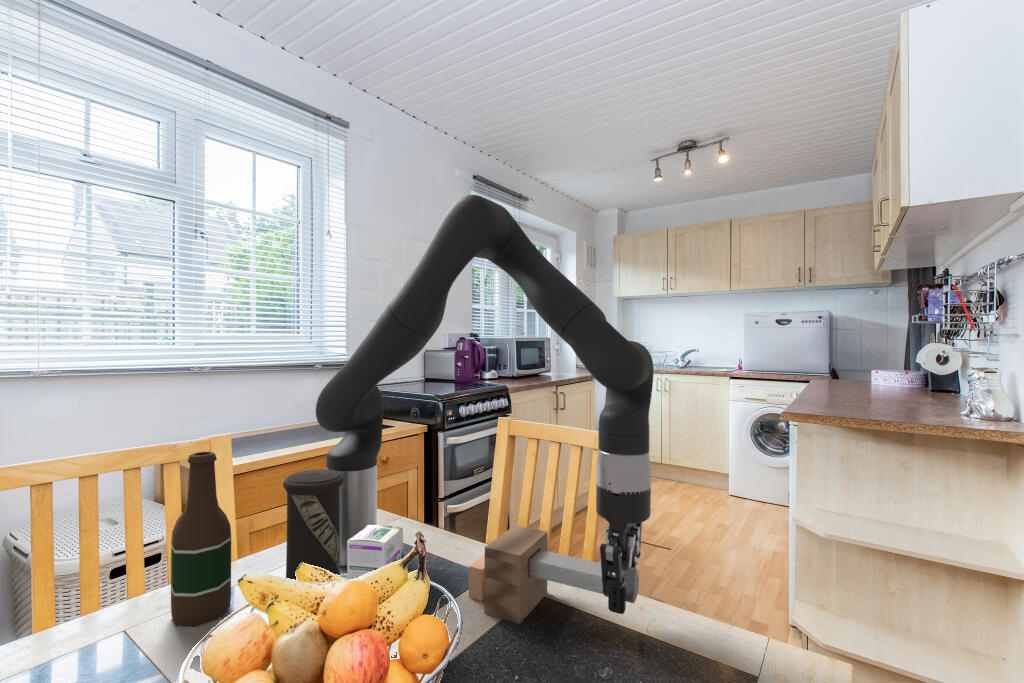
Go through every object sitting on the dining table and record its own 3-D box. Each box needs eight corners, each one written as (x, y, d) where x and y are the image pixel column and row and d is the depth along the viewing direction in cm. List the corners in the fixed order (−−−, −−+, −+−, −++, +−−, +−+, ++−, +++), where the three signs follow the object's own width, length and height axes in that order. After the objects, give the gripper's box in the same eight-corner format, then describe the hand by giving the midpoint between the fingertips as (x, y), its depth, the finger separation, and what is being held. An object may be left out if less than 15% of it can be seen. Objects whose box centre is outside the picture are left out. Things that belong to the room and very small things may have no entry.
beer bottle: (242, 607, 75) (243, 450, 75) (191, 634, 68) (192, 462, 68) (210, 595, 79) (210, 445, 78) (157, 620, 71) (158, 456, 71)
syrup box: (386, 652, 65) (387, 542, 65) (345, 646, 66) (346, 538, 66) (404, 627, 70) (405, 526, 70) (366, 622, 71) (367, 522, 71)
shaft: (499, 575, 76) (499, 546, 76) (512, 563, 80) (512, 536, 80) (631, 609, 67) (631, 576, 67) (638, 594, 70) (638, 563, 70)
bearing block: (484, 613, 74) (484, 547, 74) (514, 584, 83) (514, 525, 83) (519, 624, 71) (520, 555, 71) (547, 592, 80) (547, 531, 80)
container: (306, 619, 72) (307, 483, 72) (270, 602, 77) (271, 474, 77) (354, 593, 79) (354, 470, 79) (318, 579, 84) (319, 462, 84)
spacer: (482, 601, 78) (468, 597, 79) (497, 586, 82) (484, 583, 83) (482, 569, 78) (468, 566, 79) (497, 557, 82) (484, 554, 83)
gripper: (611, 467, 77) (610, 574, 77) (580, 491, 65) (579, 620, 65) (660, 473, 74) (659, 586, 74) (638, 500, 61) (636, 636, 61)
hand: (622, 601), depth 69 cm, fingers open, 5 cm apart
